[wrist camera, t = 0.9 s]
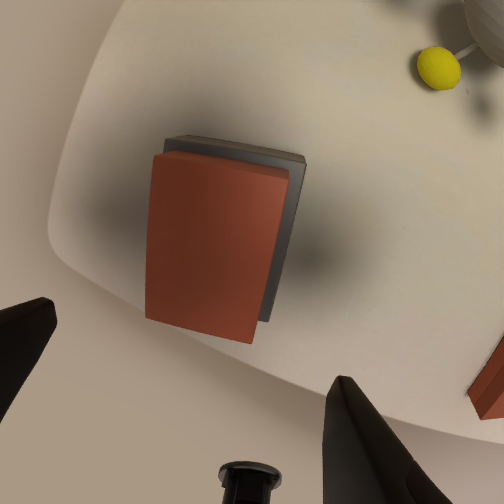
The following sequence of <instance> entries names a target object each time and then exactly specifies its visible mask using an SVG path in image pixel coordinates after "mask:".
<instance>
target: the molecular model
mask: <svg viewBox="0 0 504 504" xmlns="http://www.w3.org/2000/svg"><path fill="white" fill-rule="evenodd" d="M464 13H465V19H466V23H467V26H468V28H469V30H470V32H471V35H472V37H473V39H474V40H475V43H473V44H471V45H470V46H468V47H466V48H465V49H463V50H461V51H460V52H458V53H457V54H455V55H453V54H452V53H451V52H450V51H448V50H446V49H444V48H442V47H437V46H433V47H428V48H426V49H424V50H423V51H422V52H421V53H420V55H419V57H418V60H417V68H418V72H419V75H420V76H421V78H422V79H423V80H424V82H425V83H426V84H428V85H429V86H430V87H432V88H434V89H437V90H449V89H452V88H453V87H454V86H456V84H457V83H458V82H459V79H460V76H461V70H460V65H459V62H458V60H459V59H461V58H463V57H464V56H466V55H468V54H469V53H471V52H473V51H474V50H476V49H478V48H479V47H480V48H481V50H482V51H483V52H484V53H485V54H486V55H487V56H488V57H489V58H490V59H491V60H492V61H493V62H495V63H496V64H497V65H499V66H501V67H502V68H504V0H464Z"/></svg>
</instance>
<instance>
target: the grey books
mask: <svg viewBox="0 0 504 504" xmlns="http://www.w3.org/2000/svg"><path fill="white" fill-rule="evenodd" d="M175 150H177V151H184V152H191V153H197V154H204V155H210V156H216V157H222V158H228V159H233V160H239V161H244V162H249V163H255V164H260V165H265V166H270V167H275V168H279V169H284V170H288V171H289V185H288V190H287V194H286V199H285V203H284V208H283V213H282V217H281V222H280V226H279V231H278V235H277V239H276V244H275V248H274V253H273V257H272V261H271V266H270V270H269V274H268V279H267V283H266V287H265V292H264V296H263V300H262V304H261V309H260V313H259V317H258V320H259V321H263V322H269V319H270V315H271V311H272V307H273V304H274V300H275V296H276V292H277V288H278V284H279V280H280V276H281V272H282V268H283V264H284V260H285V256H286V252H287V248H288V244H289V239H290V235H291V231H292V227H293V223H294V218H295V214H296V210H297V206H298V201H299V197H300V193H301V188H302V184H303V179H304V175H305V170H306V166H307V164H306V162H305V161H306V160H305V158H304V156H302V155H297V154H293V153H288V152H284V151H279V150H274V149H269V148H264V147H259V146H253V145H248V144H242V143H237V142H231V141H225V140H218V139H212V138H205V137H198V136H191V135H185V136H177V137H174V138H167V139H165V143H164V151H163V153H167V152H171V151H175Z"/></svg>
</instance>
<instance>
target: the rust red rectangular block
mask: <svg viewBox="0 0 504 504" xmlns="http://www.w3.org/2000/svg"><path fill="white" fill-rule="evenodd" d="M288 185H289V171H288V170H284V169H279V168H275V167H270V166H265V165H260V164H255V163H249V162H244V161H239V160H233V159H228V158H222V157H216V156H210V155H204V154H197V153H191V152H184V151H177V150H175V151H171V152H167V153H163V154H159V155H155V156H154V160H153V169H152V178H151V189H150V201H149V214H148V229H147V249H146V283H145V317H146V318H148V319H152V320H155V321H159V322H162V323H166V324H170V325H173V326H177V327H181V328H185V329H189V330H193V331H197V332H201V333H205V334H209V335H213V336H217V337H221V338H226V339H230V340H234V341H239V342H243V343H248V344H252V342H253V338H254V334H255V329H256V325H257V321H258V317H259V313H260V309H261V304H262V300H263V296H264V292H265V287H266V283H267V279H268V274H269V270H270V266H271V261H272V257H273V253H274V248H275V244H276V239H277V235H278V231H279V226H280V222H281V217H282V213H283V208H284V203H285V199H286V194H287V190H288Z"/></svg>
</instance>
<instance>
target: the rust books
mask: <svg viewBox="0 0 504 504" xmlns="http://www.w3.org/2000/svg"><path fill="white" fill-rule="evenodd" d="M467 393H468V395H469V397H470V399H471V402H472V404H473V406H474V407H475V409H476V412H477V414H478V416H479V418H480V420H487V419H496V418H504V337H503V339H502V340H501V342H500V344H499V345H498V347H497V349H496V350H495V352H494V354H493V355H492V357H491V358H490V360H489V361H488V363H487V364H486V366H485V367H484V369H483V370H482V372H481V373H480V375H479V376H478V378H477V379H476V380H475V382H474V383H473V385H472V386H471V387H470V389H469V390H468V391H467Z"/></svg>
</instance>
